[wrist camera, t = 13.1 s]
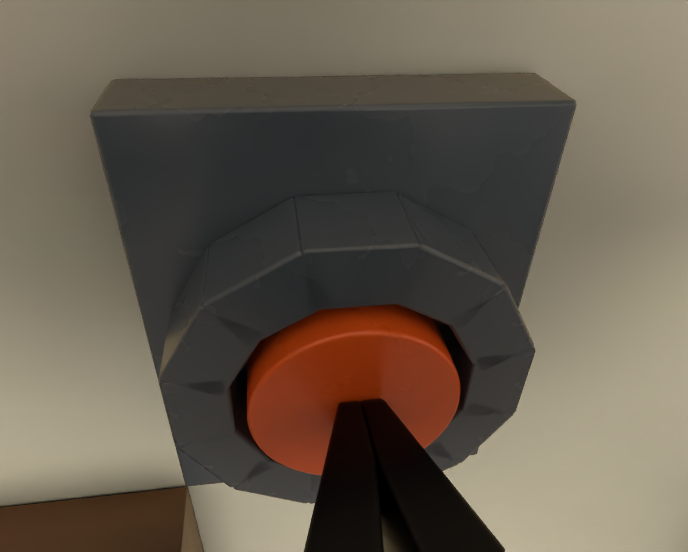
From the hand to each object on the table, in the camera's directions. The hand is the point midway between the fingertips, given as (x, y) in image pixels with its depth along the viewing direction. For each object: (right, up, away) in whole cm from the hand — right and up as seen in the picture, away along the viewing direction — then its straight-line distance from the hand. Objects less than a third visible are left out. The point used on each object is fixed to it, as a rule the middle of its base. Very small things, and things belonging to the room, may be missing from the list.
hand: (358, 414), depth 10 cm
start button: (0, +1, +1) cm, 2 cm away
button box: (-1, +2, +3) cm, 4 cm away
